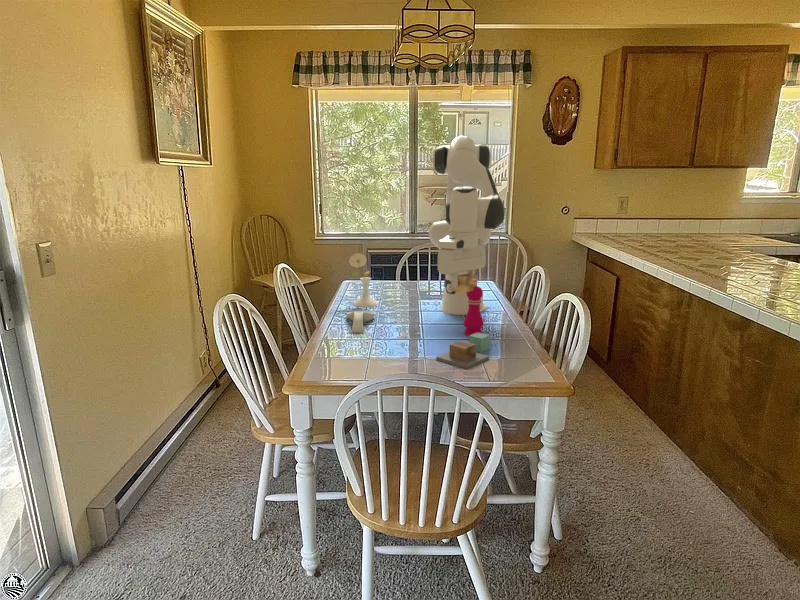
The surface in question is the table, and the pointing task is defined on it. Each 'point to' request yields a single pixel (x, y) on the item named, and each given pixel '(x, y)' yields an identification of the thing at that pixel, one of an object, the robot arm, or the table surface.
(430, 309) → the table surface
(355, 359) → the table surface
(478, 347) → the block
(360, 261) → the flower in vase
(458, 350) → the base block
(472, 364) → the build board
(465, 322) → the pepper mill
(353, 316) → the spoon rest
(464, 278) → the block
